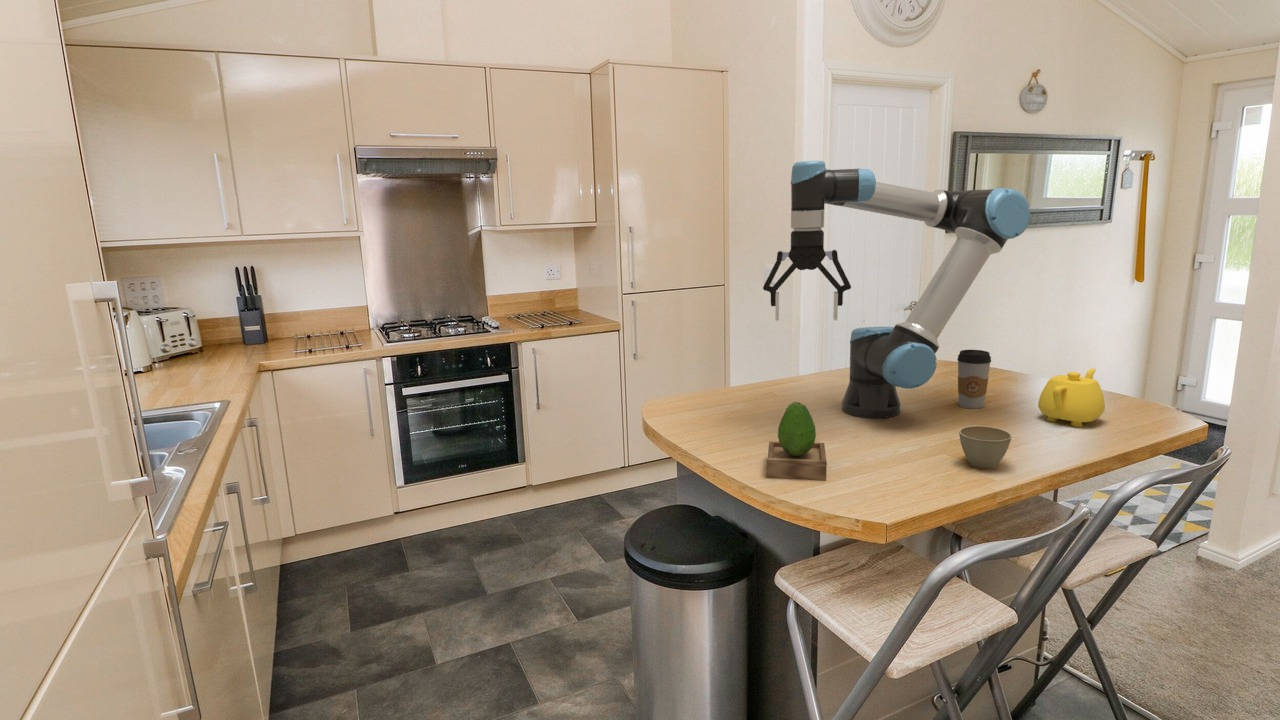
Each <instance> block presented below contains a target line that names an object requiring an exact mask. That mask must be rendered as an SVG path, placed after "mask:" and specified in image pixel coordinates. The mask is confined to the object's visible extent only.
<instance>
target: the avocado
mask: <svg viewBox="0 0 1280 720" xmlns="http://www.w3.org/2000/svg"><path fill="white" fill-rule="evenodd" d="M777 430H778V431H777V438H778V441H779V442H780V445H781V447H782V448H783V449H784V451H785V452H786V453H787V454H789V455H791V456H802V455H804V454H806V453H807V452H809V450H810V449H811V448H812V447H813V445H814V442H816V436H817V434H816V425H815V422H814V420H813V417H812V415H811V413H810V411H809V409H808V407H807V406H806V405H805V404H803V403H802V402H799V401H794V402H792V403H790V404H789V405H788V406H787V408H786V409H785V411H784V413H783V415H782V418H781V420H780V422H779V425H778V428H777Z"/></svg>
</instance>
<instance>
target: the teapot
mask: <svg viewBox="0 0 1280 720" xmlns="http://www.w3.org/2000/svg"><path fill="white" fill-rule="evenodd" d="M1096 370H1097V369H1096V368H1094V367H1093V368H1090V369H1088V370H1087V371H1086V374H1085V375H1084V376H1081V375H1082V374H1081V373H1080V372H1076V371H1075V372H1074V371H1068V372H1067V374H1061V375H1056V376H1052V377H1051V378H1049V380H1048V381H1047V382H1046V384H1045V386H1044V387H1043V389H1042V391H1041V392H1040V395H1039V399H1038V404H1037V406H1038V408H1039V411H1040V413H1041V414H1042V415H1044V416H1047V417H1046V418H1045V421H1047V422H1051V423H1052V422H1053V423H1055V422H1057V421H1058V420H1063V421H1068V422H1069V421H1070V426H1071V427H1074V428H1083V423H1095V420H1098V419H1099V418H1100V417H1101V416H1102V415H1103V414H1104V412H1105V406H1106V405H1105V404H1106V403H1105V396H1104V392H1103V390H1102V387H1101V386H1100V384H1099V381H1098V380H1096V379H1093V378H1094V374H1095V372H1096Z"/></svg>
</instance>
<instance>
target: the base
mask: <svg viewBox="0 0 1280 720" xmlns="http://www.w3.org/2000/svg"><path fill="white" fill-rule="evenodd" d="M767 451H768V452H767V457H766V458H767V461H766V462H767V463H766V464H767V465H766V466H767V467H766V469H767V470H766V471H767V473H766V476H767V478H768V479H771V478H772V479H788V480H789V479H791V480H810V481H811V480H814V481H827V468H828V467H827V464H828V461H827V455H826V446H825V442H816V441H815V442H814V445H813V447H812V448H811V449H810V450H809V452H807V453H806V454H804V455H802V456H791V455H789V454H787V453H786V452H785V451H784V449H783V448H782V447H781V445H780V442H779V440H769V441H768V449H767Z"/></svg>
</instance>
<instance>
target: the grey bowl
mask: <svg viewBox="0 0 1280 720" xmlns="http://www.w3.org/2000/svg"><path fill="white" fill-rule="evenodd" d="M958 432H959V433H958V435H959V441H960V445H961V448H962V450H963V451H962V452H963V453H964V455H965V458H966V460H967V461H968V462H969V465H971V466H972V467H975V468H979V469H994V468H996V467H997V465H999V464H1000V463H1001V461H1002V460H1003V459H1004V457H1005V455H1006V453H1007V451H1008V450H1009V447H1010V444H1011V442H1012V441H1011V440H1012V434H1011V433H1010V432H1009V431H1007V430H1006V429H1003V428H999V427H994V426H988V425H969V426H965V427H964V426H963V427H961V428H960V429H959V430H958Z"/></svg>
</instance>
